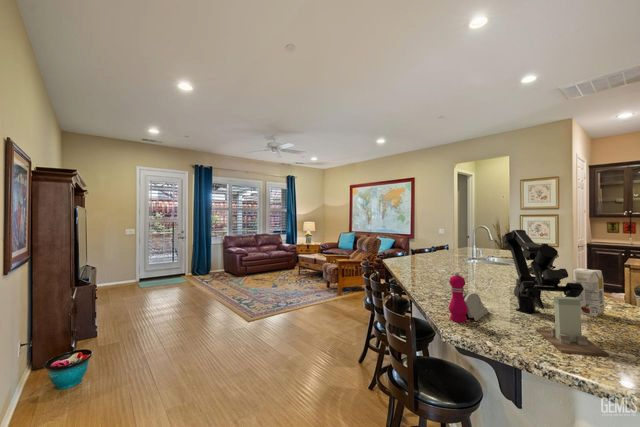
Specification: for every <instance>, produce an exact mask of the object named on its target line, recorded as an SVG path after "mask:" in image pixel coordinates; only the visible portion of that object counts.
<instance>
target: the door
mask: <svg viewBox="0 0 640 427" xmlns="http://www.w3.org/2000/svg"><path fill="white" fill-rule="evenodd" d="M553 302H554V303H553V304H554V305H553V308H554V323H555V324H554V328H555V332H556V338H557V339H559V334H566V335H569V336H570V342H577V337H576V335H579V336H583V334H582V333H583V331H582V314H581V309H580V299H577V298H575V297H566V296H555V295H554V296H553Z"/></svg>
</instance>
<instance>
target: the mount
mask: <svg viewBox="0 0 640 427" xmlns="http://www.w3.org/2000/svg"><path fill="white" fill-rule="evenodd" d="M535 331H536V332H537V334H539V335H541V337H543V338H544V339H546V341H547V342H549V343H550V344H551V345H552V346H553V347H555V348H556V349H557V350H558V351H559V352H560V353H564V354H565V353H567V354H575V353H576V355H577V354H579V355H589V356H596V357H597V356H598V357H609V358H610V353H609V352H607V351H605V350H604V349H602V348H600V347H599V346H598V345H596V344H595V343H593V342H592V341H590V340H589V339H588V336H586V335H582V336H579V335H576V337H577V342H570V336H569V335H566V334H559V339H557V338H556V332H555V327H550V329H546V328H544V329H543V328H536V329H535Z"/></svg>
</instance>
